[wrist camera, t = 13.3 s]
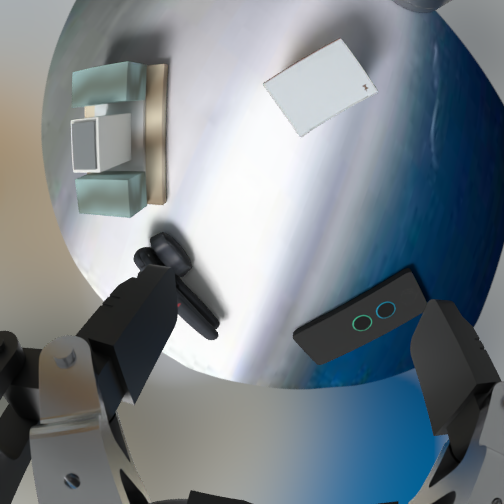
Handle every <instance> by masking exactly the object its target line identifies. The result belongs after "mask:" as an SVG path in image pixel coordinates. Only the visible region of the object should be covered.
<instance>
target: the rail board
mask: <svg viewBox="0 0 504 504" xmlns="http://www.w3.org/2000/svg"><path fill="white" fill-rule="evenodd" d="M167 75H168V65H167V64H157V65H148V66H147V65H145V64H140V63H135V62H130V61H126V62H120V63H114V64H109V65H104V66H99V67H94V68H89V69H85V70H81V71H76V72H73V78H72V108H75V107H84V106H85V118H89V117H95V116H103V115H112V114H125V113H131V159H132V160H130V161H127V162H125V163H122V164H120V165H117V166H115V167H112V168H110V169H107V170H105V171H103V172H100V173H97V172H87V175H84V176H82V177H80V178H77V179H75V182H76V191H77V200H78V207H79V213H81V214H93V215H104V216H116V217H127V218H131V217H132V216H133V215H135V214H136V213H138V212H139V211H140V210H142V209H143V208H144V207H146V206H147V204H155V205H164V204H165V203H166V159H165V141H166V96H167Z"/></svg>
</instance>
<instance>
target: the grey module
mask: <svg viewBox="0 0 504 504" xmlns="http://www.w3.org/2000/svg"><path fill="white" fill-rule="evenodd" d="M71 142H72V160H73V172H97V173H100V172H103V171H105V170H107V169H110V168H112V167H115V166H117V165H120V164H122V163H125V162H127V161H130V160H132V159H131V113H125V114H112V115H103V116H95V117H89V118H82V119H76V120H71Z"/></svg>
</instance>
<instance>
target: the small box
mask: <svg viewBox="0 0 504 504" xmlns="http://www.w3.org/2000/svg"><path fill="white" fill-rule="evenodd" d="M263 86H264V87H265V88H266V90H267V91H268V92H269V94H270V95H271V97H272V98H273V99H274V101H275V102H276V104H277V105H278V106H279V108H280V109H281V111H282V112H283V114H284V115H285V116H286V118H287V119H288V121H289V122H290V124H291V125H292V126H293V128H294V129H295V131H296V132H297V134H298V135H299V137H303V136H304V135H306V134H307V133H309V132H310V131H311V130H313V129H315V128H316V127H318V126H319V125H321V124H323V123H324V122H326V121H328V120H329V119H331V118H333V117H334V116H336V115H338V114H339V113H341V112H343V111H345V110H346V109H348V108H350V107H352V106H353V105H355V104H357V103H359V102H361V101H363V100H365V99H367V98H369V97H371V96H373V95H375V94H377V93H378V90H377V89H376V87H375V86H374V84H373V82H372V81H371V79H370V78H369V76H368V75H367V73H366V72H365V70H364V69H363V68H362V66H361V65H360V63H359V62H358V60H357V59H356V58H355V56H354V55H353V53H352V52H351V51H350V49H349V48H348V47H347V45H346V44H345V43H344V41H343V40H342V39H341V38H339V39H337V40H335V41H333V42H331V43H330V44H328V45H326V46H324V47H322V48H320V49H319V50H317V51H315V52H313V53H312V54H310V55H308V56H306V57H305V58H303V59H301V60H300V61H298V62H296V63H295V64H293V65H291V66H290V67H288V68H286V69H285V70H283V71H282V72H280V73H278V74H277V75H275V76H274V77H272V78H271V79H269V80H268V81H266V82H264V83H263Z"/></svg>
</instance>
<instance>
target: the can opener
mask: <svg viewBox="0 0 504 504" xmlns="http://www.w3.org/2000/svg"><path fill="white" fill-rule="evenodd" d="M150 243H151V246H152V248H151V247H144V248H141V249H139V250H137V252H136V253H135V255H134V262H135V264H136V265H137V267H138V268H139V269H140V272H139V273H138V276H139V275H140V273H141V272H142V271H143V270H144V269H145V268H146V266H147V265H149V264H152V265H158V266H165V267H171V268H173V269H174V272H175V282H176V294H177V305H178V314H179V315H180V316H181V317H182V318H183V319H184V320H185V321H186V322H187V323H188V324H189V325H190V326H191V327H193V328H194V329H195V330H196V331H197V332H198V333H200V334H201V335H202V336H204V337H205V338H206V339H208V340H215V339H216V338H217V337H218V332H217V331H216V330H215V329H217V328H218V327H219V322H218V320H217V319H216V318H215V316H214V315H213V314H212V313H211V311H210V310H209V309H208V308H207V307H206V306H205V305H204V304H203V303H202V301H201V300H200V299H199V298H198V297H197V296H196V295H195V294H194V293H193V292H192V291H191V290H190V289H189V288H188V287H187V286H186V285H185V284H184V283H183V282H182V281H181V279H180V278H179V277H178V276H180V277H182V276H184V275H185V274H186V273H187V272H188V271H189V270H190V269H191V268H192V265H191V262H190V260H189V258H188V256H187V255H186V253H185V251H184V250H183V249H182V247H181V246H180V245H179V244H178V243H177V242H176V241H175V240H174V239H173V238H172V237H170V236H169V235H168V234H166V233H164V232H162V233H159V234H157V235H155V236H153V237H151V238H150ZM138 276H137V277H138Z"/></svg>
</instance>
